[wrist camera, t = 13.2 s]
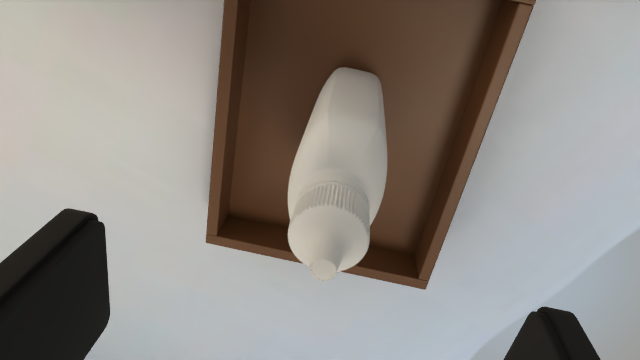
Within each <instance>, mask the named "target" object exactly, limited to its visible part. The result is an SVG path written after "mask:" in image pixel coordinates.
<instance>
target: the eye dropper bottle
mask: <svg viewBox="0 0 640 360" xmlns="http://www.w3.org/2000/svg"><path fill="white" fill-rule="evenodd" d="M386 177H387V141H386V128H385V116H384V105H383V94H382V87H381V83H380V80H379V78H378V77H377V76H376V75H374V74H372V73H369V72H365V71H361V70H356V69H352V68H347V67H342V68H338V69H336V70H335V71H334V72H333V73H332V74H331V76H330V77H329V78H328V80H327V81H326V83H325V85H324V86H323V88H322V90H321V92H320V94H319V96H318V99H317V101H316V104H315V106H314V109H313V111H312V114H311V117H310V119H309V122H308V124H307V127H306V130H305V132H304V135H303V138H302V140H301V143H300V146H299V148H298V151H297V154H296V156H295V159H294V163H293V166H292V169H291V174H290V179H289V186H288V211H289V217H290V224H289V228H288V234H287V235H288V242H289V246H290V247H291V248H290V249H291V250H292V252H293V253H294V255H295V256H296V257H297V258H298V259H299V261H301V262H302V263H303V264H305V265H306V266H309V267H310V271H311V274H312V275H313V276H314V277H315V278H316V279H318V280H322V281H327V280H330V279H332V278H333V277H334V276H335V275H336V273H337V272H338V271H342V270H346V269H349V268H351V267H353V266H354V265H356V264H357V263H359V261H360V260H362V258H363V257H364V255H365V254H366V252H367V251H368V247H369V240H370V225H371V224H372V222H373V220H374V218H375V216H376V214H377V212H378V209H379V207H380V204H381V201H382V198H383V194H384V189H385V184H386Z"/></svg>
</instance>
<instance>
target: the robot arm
mask: <svg viewBox="0 0 640 360" xmlns="http://www.w3.org/2000/svg"><path fill="white" fill-rule="evenodd" d="M109 317H110V303H109V287H108V270H107V254H106V238H105V226H104V224H103V223H102V222H98V217H97V216H96V215H95V214H93V213H89V212H84V211H79V210H74V209H69V208H68V209H64V210H63V211H61V212H60V213H59V214H58V215H56V216H55V217H54V218H53V219H52V220H51V221H49V222H48V223H47V224H46V225H45V226H43V227H42V228H41V229H40V230H39V231H38V232H36V233H35V234H34V235H33V236H32V237H30V238H29V239H28V240H27V241H26V242H25V243H23V244H22V245H21V246H20V247H19V248H18V249H16V250H15V251H14V252H13V253H12V254H10V255H9V256H8V257H7V258H6V259H5V260H3V261H2V262H1V263H0V360H84V358H85V357H86V355H87V354H88V352H89V351H90V350H91V348H92V347H93V345H94V344H95V342H96V341H97V339H98V338H99V337H100V335H101V334H102V332H103V331H104V329H105V328H106V326H107V323H108V320H109ZM504 360H600V358H599V356H598V355H597V353H596V351H595V349H594V348H593V346H592V344H591V342H590V341H589V339H588V337H587V335H586V334H585V332H584V330H583V328H582V327H581V325H580V323H579V321H578V320H577V318H576V317H575V315H574V314H573V313H571V312H568V311H563V310H558V309H554V308H549V307H541V308H539V309H538V311H537V312H531V313H530V314H529V315H528V317H527V319H526V320H525V323H524V324H523V326H522V328H521V329H520V331H519V333H518V335H517V337H516V338H515V340H514V342H513V344H512V346H511V347H510V349H509V351H508V353H507V355H506V356H505V358H504Z"/></svg>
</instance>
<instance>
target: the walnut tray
mask: <svg viewBox="0 0 640 360" xmlns="http://www.w3.org/2000/svg"><path fill="white" fill-rule="evenodd" d="M535 2H536V0H224V13H223V26H222V39H221V52H220V65H219V78H218V90H217V103H216V116H215V129H214V142H213V155H212V168H211V181H210V194H209V207H208V219H207V232H206V233H207V234H206V243H210V244H215V245H219V246H224V247H229V248H233V249H238V250H243V251H247V252H252V253H257V254H261V255H266V256H271V257H275V258H280V259H285V260H289V261H294V262H299V263H302V262H301V261H299V259H298V258H297V257H296V256H295V255H294V253H293V252H292V250H291V249H290V248H291V247H290V246H289V242H288V235H287V234H288V228H289V224H290V217H289V211H288V186H289V179H290V174H291V169H292V166H293V163H294V159H295V156H296V154H297V151H298V148H299V146H300V143H301V140H302V138H303V135H304V132H305V130H306V127H307V124H308V122H309V119H310V117H311V114H312V111H313V109H314V106H315V104H316V101H317V99H318V96H319V94H320V92H321V90H322V88H323V86H324V85H325V83H326V81H327V80H328V78H329V77H330V76H331V74H332V73H333V72H334V71H335V70H336V69H338V68H342V67H347V68H352V69H356V70H361V71H365V72H369V73H372V74H374V75H376V76H377V77H378V78H379V80H380V83H381V87H382V94H383V105H384V116H385V128H386V141H387V177H386V184H385V189H384V194H383V198H382V201H381V204H380V207H379V209H378V212H377V214H376V216H375V218H374V220H373V222H372V224H371V225H370V240H369V247H368V251H367V252H366V254H365V255H364V257H363V258H362V260H360V261H359V263H357V264H356V265H354V266H353V267H351V268H349V269H346V270H342V271H341V272H346V273H350V274H355V275H360V276H364V277H369V278H374V279H378V280H383V281H388V282H392V283H397V284H402V285H406V286H411V287H416V288H420V289H426V287H427V284H428V281H429V279H430V276H431V274H432V271H433V268H434V266H435V263H436V260H437V258H438V255H439V253H440V250H441V247H442V245H443V242H444V240H445V237H446V234H447V232H448V229H449V226H450V224H451V221H452V219H453V216H454V213H455V211H456V208H457V205H458V203H459V200H460V198H461V195H462V192H463V190H464V187H465V185H466V182H467V179H468V177H469V174H470V171H471V169H472V166H473V164H474V161H475V158H476V156H477V153H478V150H479V148H480V145H481V143H482V140H483V137H484V135H485V132H486V130H487V127H488V124H489V122H490V119H491V116H492V114H493V111H494V109H495V106H496V103H497V101H498V98H499V95H500V93H501V90H502V88H503V85H504V82H505V80H506V77H507V75H508V72H509V69H510V67H511V64H512V61H513V59H514V56H515V54H516V51H517V48H518V46H519V43H520V40H521V38H522V35H523V33H524V30H525V27H526V25H527V22H528V20H529V17H530V14H531V12H532V9H533V6H532V5H534V4H535Z"/></svg>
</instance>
